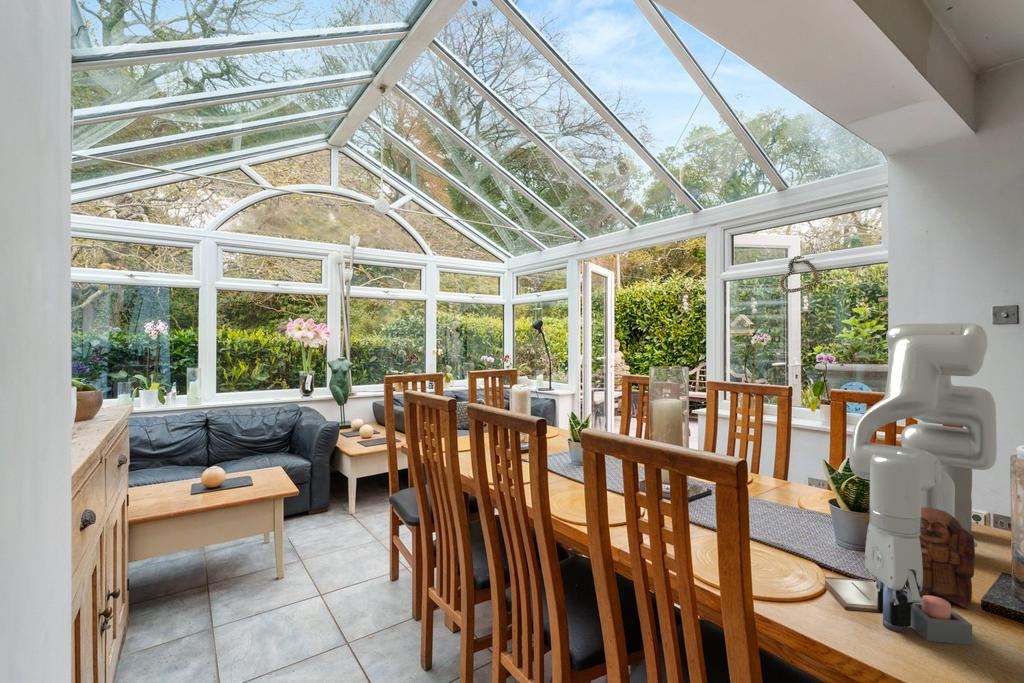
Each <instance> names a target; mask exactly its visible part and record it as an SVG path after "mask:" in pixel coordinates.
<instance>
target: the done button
mask: <svg viewBox="0 0 1024 683" xmlns="http://www.w3.org/2000/svg"><path fill="white" fill-rule="evenodd" d="M921 600H922V611H923V612H924V613H925V614H926V615H928V616H929V617H930V618H936V619H948V620H951V609H952V605H951V604H952V603H949V602H948V601H946V600H944V599H942V598H939V597H935V596H929V595H925V596H923V597H921Z"/></svg>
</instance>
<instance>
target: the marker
mask: <svg viewBox="0 0 1024 683" xmlns="http://www.w3.org/2000/svg"><path fill="white" fill-rule="evenodd" d="M904 587H905V586H904ZM902 594H903V595H905V592H899V596H900V595H902ZM890 602H892V590H891V589H890V588H888V587H887V586H886V585H885V584H884V583H883V613H882V626H883V627H884V628H886V629H887V630H890V631H892V632H893V633H894V632H895V633H904V632H905V630H906V629H905V627H906V626H894V625H892V624H891V623H890Z"/></svg>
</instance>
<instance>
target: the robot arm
mask: <svg viewBox="0 0 1024 683" xmlns="http://www.w3.org/2000/svg"><path fill="white" fill-rule="evenodd" d="M885 335H886V336H885V339H886V344H887V347H888V348H889V350H890V355H889V362H888V370H887V377H886V382H885V383H886V384H885V394H884V397H883V398H882V399H881V400H879V401H877V402H876V403H874V404H873V405H871V406H870V407H869V408H868V409H867V410H866V411H865V412H864V413H863V414H861V416H860V417H859V419H858V420H857V421H856V424H855V425H854V428H853V431H852V438H851V442H850V450H849V460H848V462H849V468H850V469H851V471H852V473H853V474H854V476H856V477H858V478H860V479H863V480H869V522H868V527H867V531H866V532H867V533H866V540H865V551H864V552H865V553H864V565H865V568H866V569H867V570H868V571H869V573H871V574H872V575H873V576H874V577H875V579H876V588H877V590H880V591H878V598H877V610H878V611H879V612H878V613H880V614H883V583H884V584H885V585H886V586H887V587H888V588H890V589H891V590H892V602H890V623H891V624H892V625H894V626H905V627H907V628H909V627H912V626H911V607H912V606H913V603H920V602H921V600H922V598H921V597H920V595H919V592H920V591H921V590H922V585H923V566H922V553H921V545H920V539H919V537H918V536H920V535H921V508H924V507H928V508H935V509H939V510H942V511H945V512H947V513H949V514H950V515H952V516H953V517H954V512H955V485H954V482H953V480H952V478H951V477H950V476H949V474H948V473H947V472H946V471H945V470H944V469H943V468H942V465H945V466H954V467H961V468H968V469H972V470H977V471H986V470H987V471H988V470H990V469H992V468H993V467H994V466H995V465H996V464H995V463H996V460H997V451H998V450H997V443H998V442H997V409H996V408H997V407H996V402H995V398H994V396H993V395H992V393H991V391H989V390H987V389H985V388H982V387H977V386H965V385H964V386H963V385H953V384H952V377H953V376H954V377H972V376H975V375H977V374H978V373H980V370H981V369H982V366H983V365H984V360H985V356H986V353H987V349H988V334H987V333H986V330H985V329H984V328H983V326H981V325H980V324H977V323H969V322H968V323H967V322H966V323H960V322H959V323H957V322H956V323H955V322H954V323H904V324H895V325H892V326H891V327H890V328H888V329H887V331H886V334H885ZM909 418H912V419H914V420H915V421H918V422H921V423H916V424H915V423H914V424H909V425H908V426H906V427H904V428H903V429H902V431H901V435H900V444H901V446H897V445H891V444H883V443H875V442H871V438H872V436H873V435H874V433H875V432H876V431H877V430H878V429H880V428H882V427H884V426H886V425H888V424H891V423H893V422H894V423H895V422H898V421H901V420H905V419H909ZM922 422H923V423H922ZM955 426H956V427H955ZM974 544H975V548H977V547H978V542H977V540H976V539H975V538H974ZM904 585H906V587H904ZM899 592H905V595H903V594H902V595H900V596H899Z"/></svg>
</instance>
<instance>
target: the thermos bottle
mask: <svg viewBox="0 0 1024 683" xmlns="http://www.w3.org/2000/svg"><path fill="white" fill-rule="evenodd" d="M942 468H943V469H944V470H945V471H946V472H947V473H948V474H949V476H950V477H951V478H952V480H953V482H954V485H955V512H954V518H955V519H956V520H958V522H959V523H960V524H961V526H962V527H963V528H964V529H966V530H967V531H969V532H970V533H971V534H972V529H973V528H972V526H973V524H972V522H973V521H972V517H973V516H972V515H973V513H972V512H973V511H972V510H973V504H972V503H973V502H972V501H973V500H972V491H973V469H968V468H961V467H954V466H945V465H942Z"/></svg>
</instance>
